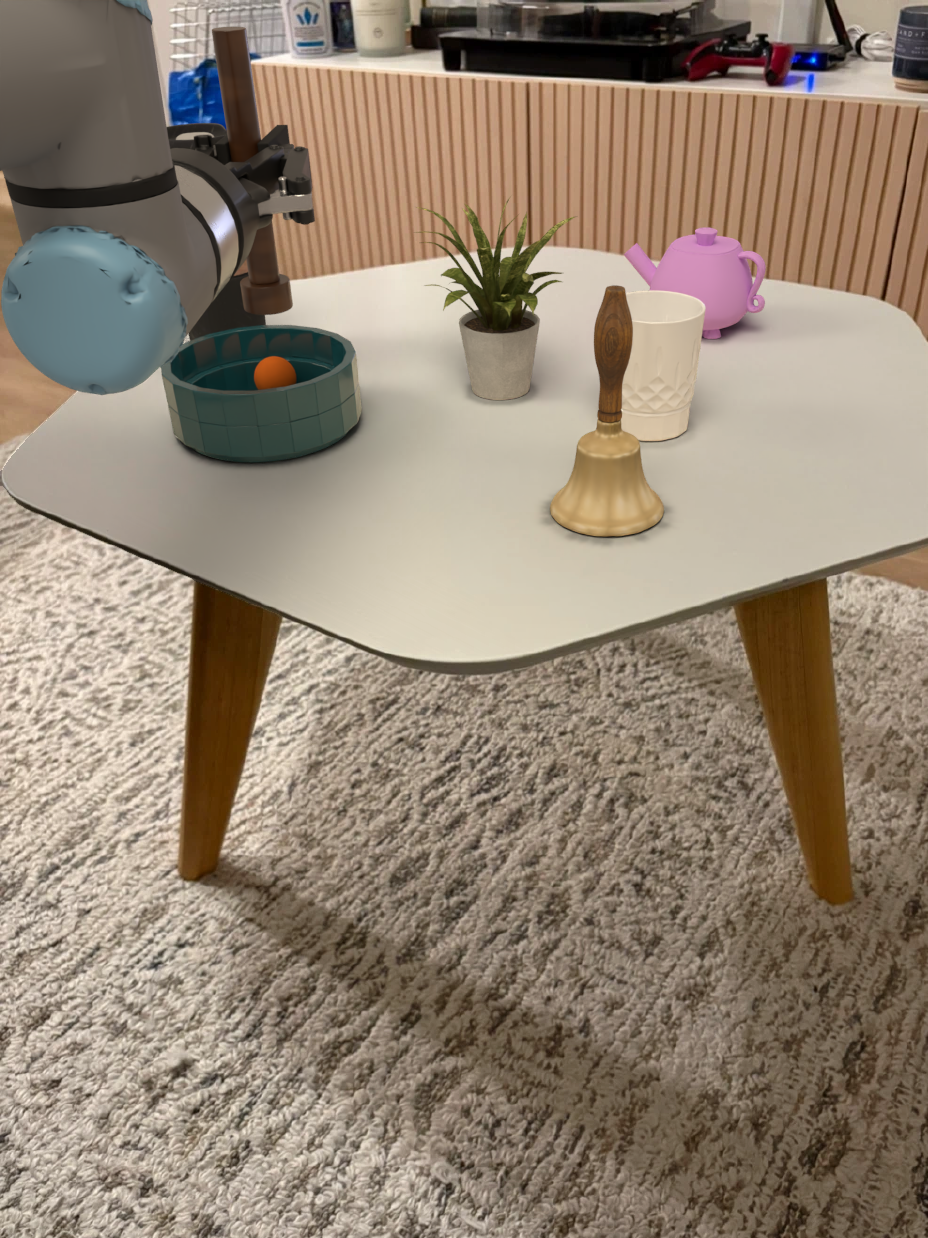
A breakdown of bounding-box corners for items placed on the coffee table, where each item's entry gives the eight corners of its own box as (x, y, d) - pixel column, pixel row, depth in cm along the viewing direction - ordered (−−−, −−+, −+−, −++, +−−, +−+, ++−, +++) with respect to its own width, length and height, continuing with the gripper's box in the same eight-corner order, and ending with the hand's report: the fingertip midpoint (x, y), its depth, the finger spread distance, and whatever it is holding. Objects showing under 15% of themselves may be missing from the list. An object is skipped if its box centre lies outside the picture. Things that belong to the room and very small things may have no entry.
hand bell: (531, 497, 82) (530, 280, 73) (628, 475, 85) (640, 263, 75) (581, 547, 76) (587, 317, 67) (685, 522, 79) (705, 297, 69)
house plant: (378, 404, 97) (360, 208, 87) (450, 352, 107) (441, 171, 97) (526, 431, 92) (525, 226, 82) (587, 373, 102) (592, 184, 92)
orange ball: (253, 405, 95) (246, 365, 93) (262, 389, 98) (256, 349, 96) (294, 405, 95) (289, 364, 93) (302, 389, 98) (297, 349, 96)
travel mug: (182, 372, 104) (136, 140, 92) (203, 343, 110) (162, 122, 98) (262, 372, 103) (227, 139, 91) (279, 343, 110) (247, 121, 98)
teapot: (743, 351, 106) (755, 251, 100) (601, 328, 111) (604, 232, 106) (777, 319, 113) (789, 223, 107) (641, 298, 119) (646, 207, 113)
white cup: (663, 453, 88) (672, 329, 82) (582, 430, 92) (585, 309, 86) (712, 420, 93) (723, 301, 87) (632, 399, 97) (638, 283, 91)
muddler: (239, 315, 81) (193, 31, 70) (250, 299, 83) (208, 25, 73) (287, 315, 80) (250, 31, 70) (297, 299, 83) (262, 24, 73)
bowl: (152, 466, 88) (135, 394, 84) (202, 390, 100) (190, 324, 96) (346, 466, 87) (338, 393, 83) (373, 390, 99) (366, 324, 96)
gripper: (57, 301, 64) (172, 199, 83) (317, 300, 63) (373, 198, 82) (21, 161, 60) (151, 88, 78) (301, 159, 59) (364, 86, 78)
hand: (265, 145), depth 80 cm, fingers closed on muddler, 2 cm apart
